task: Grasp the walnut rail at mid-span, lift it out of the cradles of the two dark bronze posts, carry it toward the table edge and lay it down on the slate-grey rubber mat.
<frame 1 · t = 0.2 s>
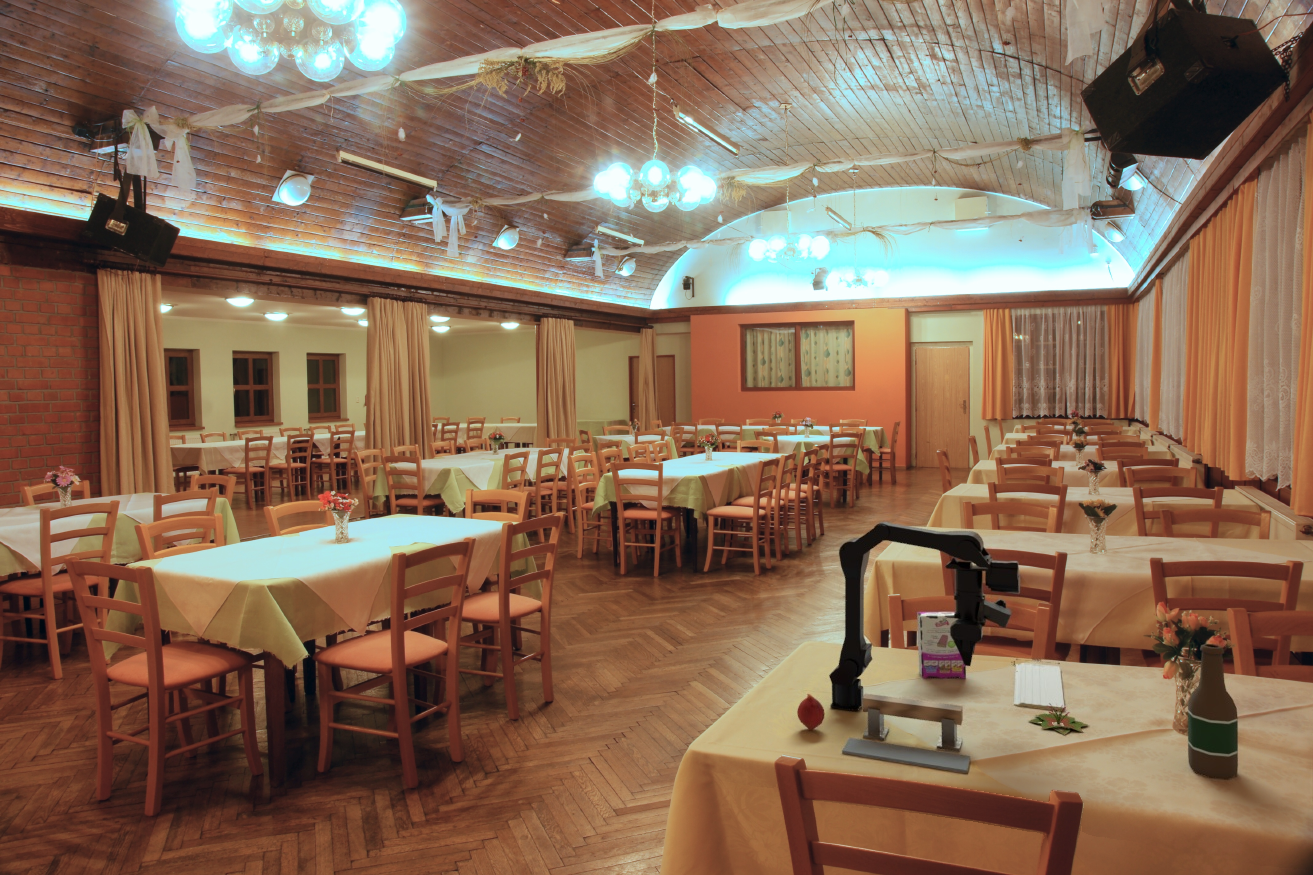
hand: (969, 659, 177), 14 cm above the table, tool pointing down, fingers open, 9 cm apart
post left: (876, 733, 174), on the table
candy bar box: (941, 676, 210), on the table
beer bottle: (1212, 771, 152), on the table
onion: (811, 730, 177), on the table
rail: (911, 715, 170), point 5 cm above the table, touching post left, post right
post right: (949, 744, 167), on the table
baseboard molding: (1035, 689, 200), on the table
mat: (905, 755, 162), on the table
lily flower: (1058, 726, 176), on the table
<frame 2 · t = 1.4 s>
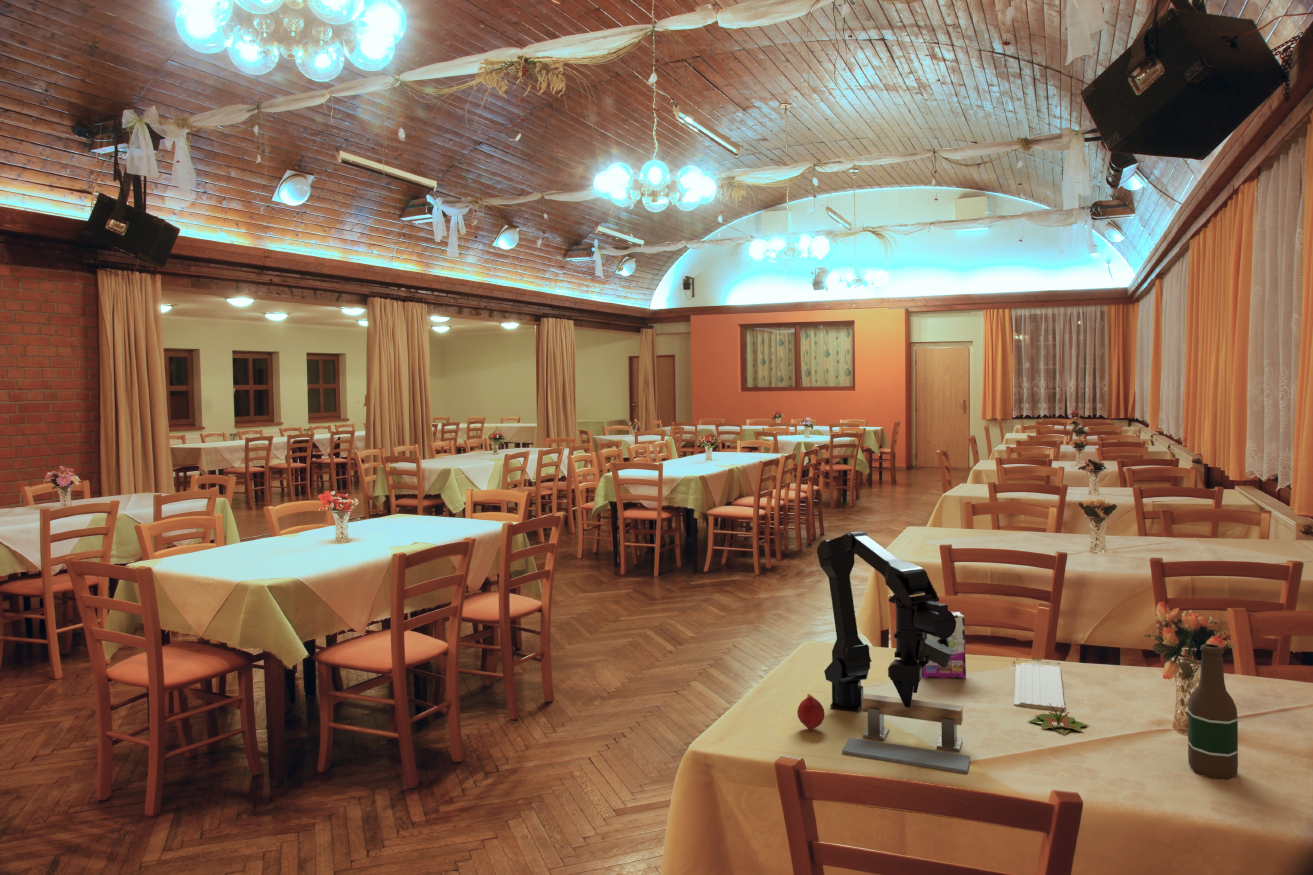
hand: (911, 699, 170), 8 cm above the table, tool pointing down, fingers open, 9 cm apart
nothing on the table moved.
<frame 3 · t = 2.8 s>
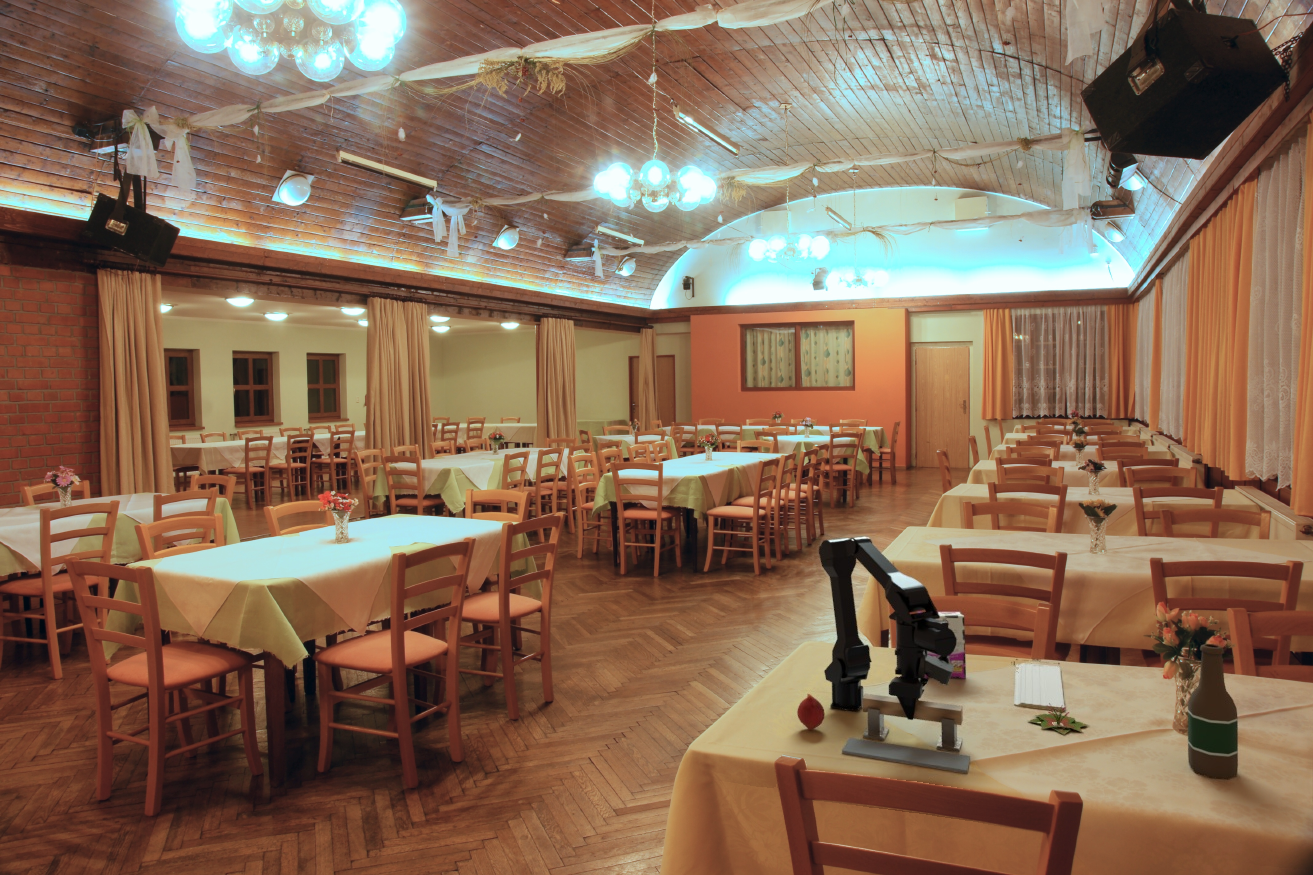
hand: (911, 716, 170), 5 cm above the table, tool pointing down, fingers closed on rail, 3 cm apart
rail: (911, 715, 170), point 5 cm above the table, touching gripper, post left, post right
everything else where it was.
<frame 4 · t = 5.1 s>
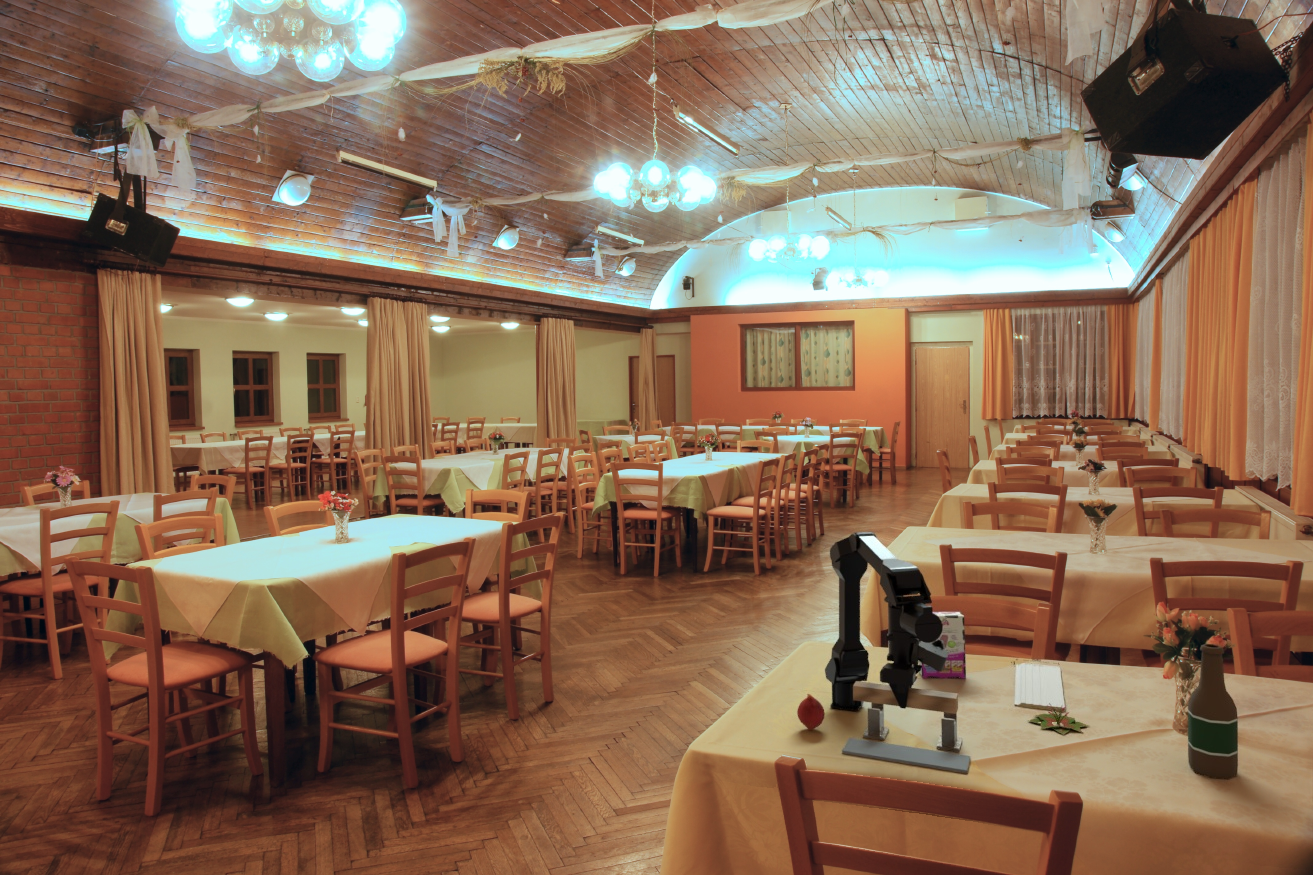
hand: (904, 705, 162), 10 cm above the table, tool pointing down, fingers closed on rail, 3 cm apart
rail: (904, 704, 162), point 11 cm above the table, touching gripper
everything else where it was.
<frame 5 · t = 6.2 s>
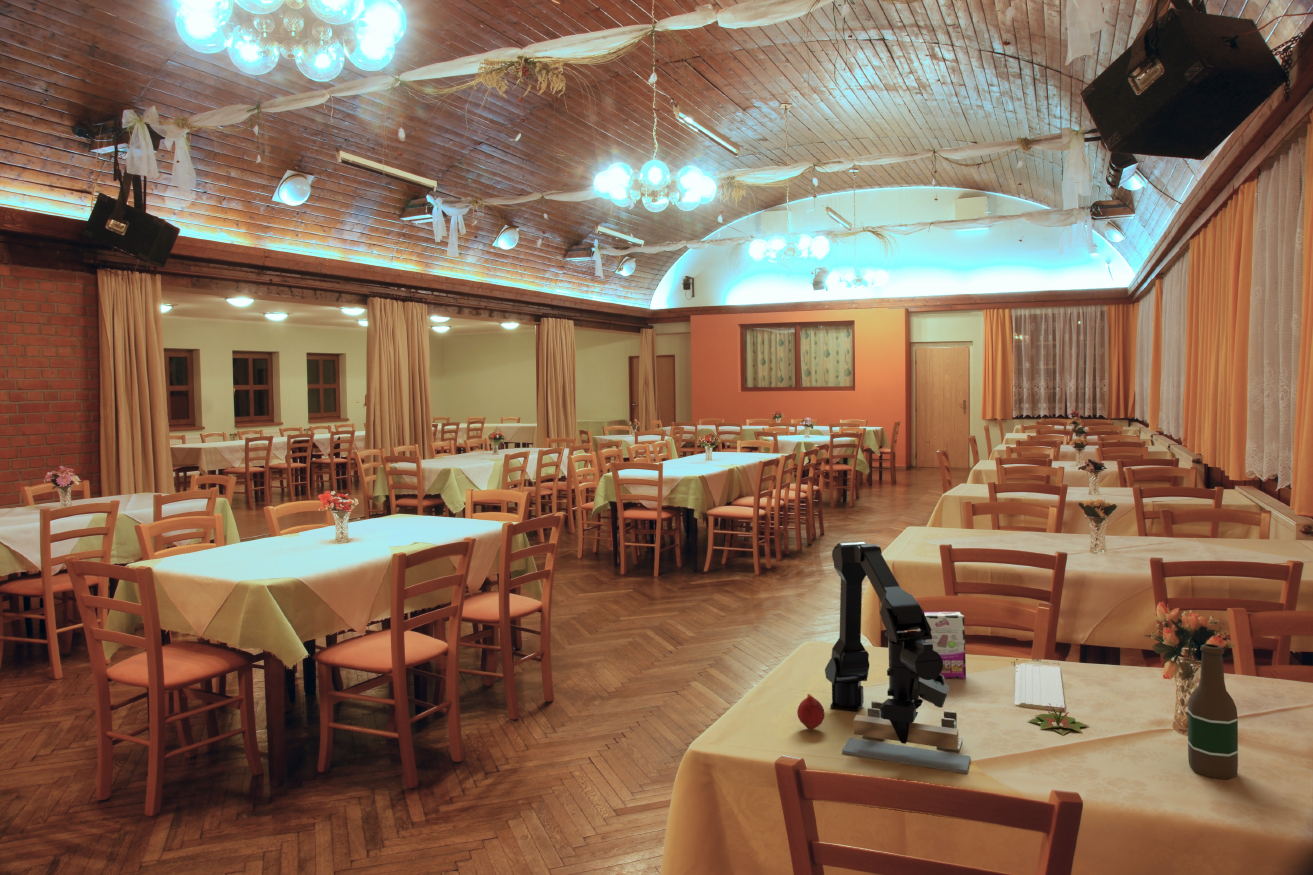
hand: (904, 739, 162), 3 cm above the table, tool pointing down, fingers closed on rail, 3 cm apart
rail: (905, 738, 162), point 3 cm above the table, touching gripper
everything else where it was.
when the fingers open (2 cm above the table, at t = 7.2 s): rail drops 1 cm, resting on mat.
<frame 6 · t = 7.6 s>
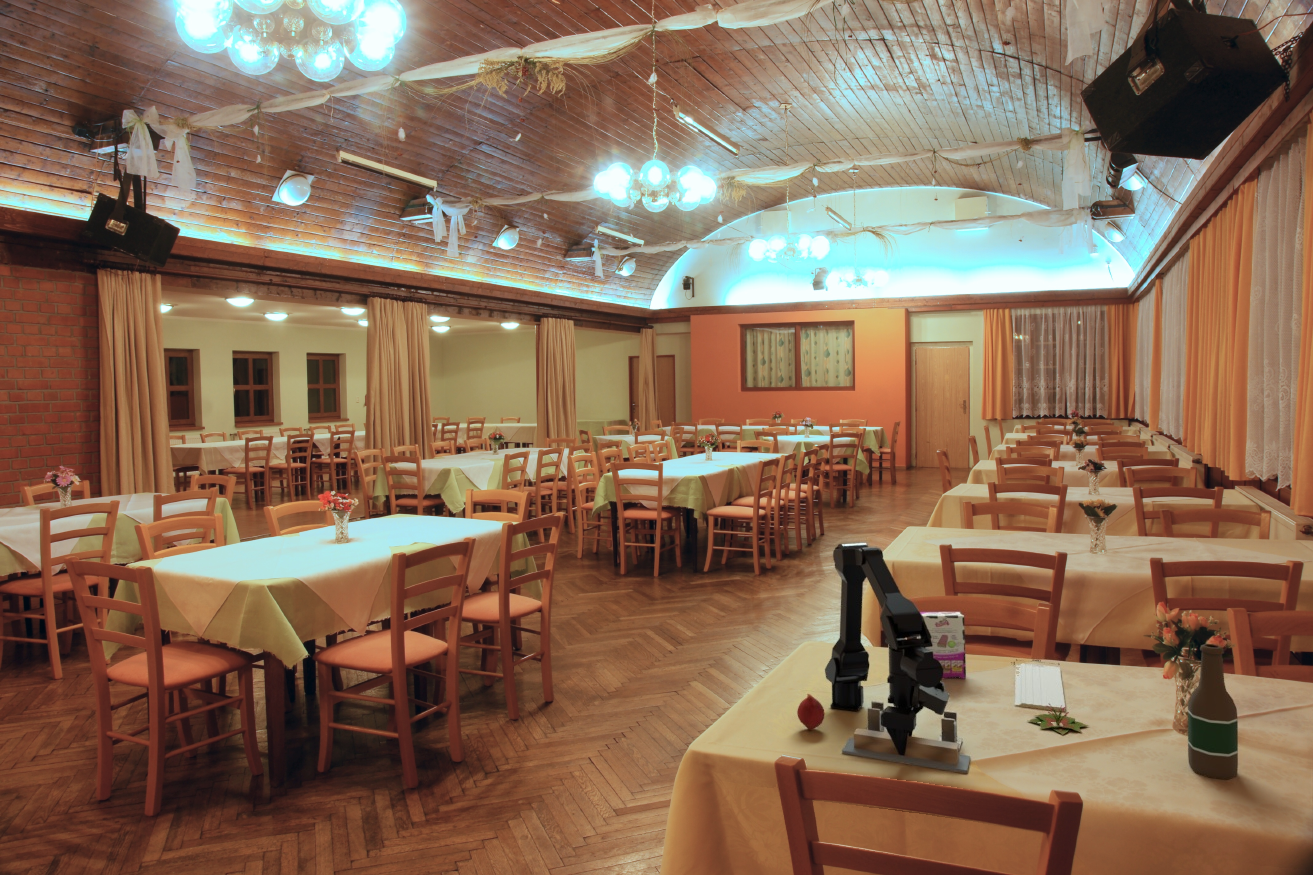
hand: (905, 747, 162), 2 cm above the table, tool pointing down, fingers open, 8 cm apart
rail: (905, 752, 163), point 1 cm above the table, touching mat
everything else where it was.
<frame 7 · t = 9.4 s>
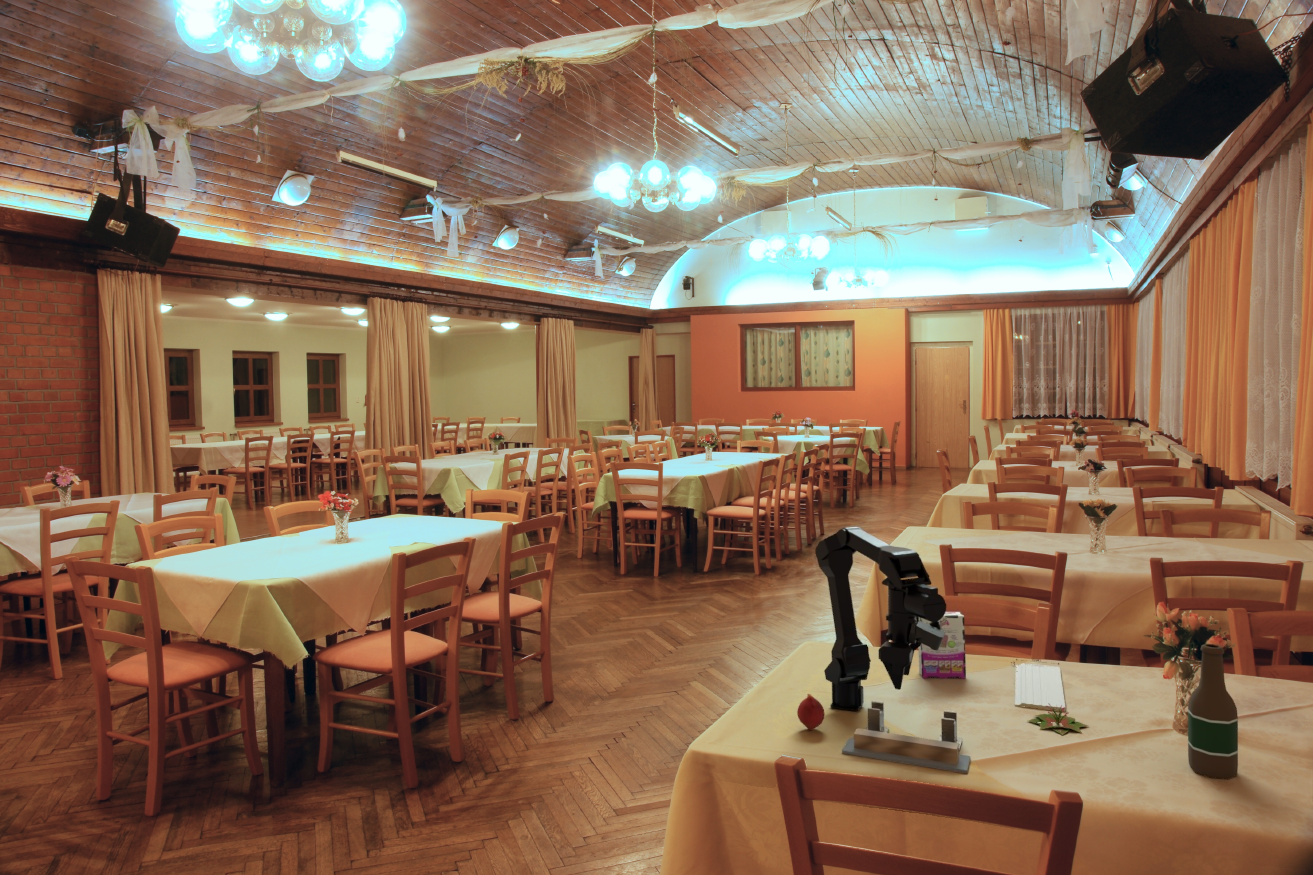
hand: (902, 681, 171), 12 cm above the table, tool pointing down, fingers open, 9 cm apart
nothing on the table moved.
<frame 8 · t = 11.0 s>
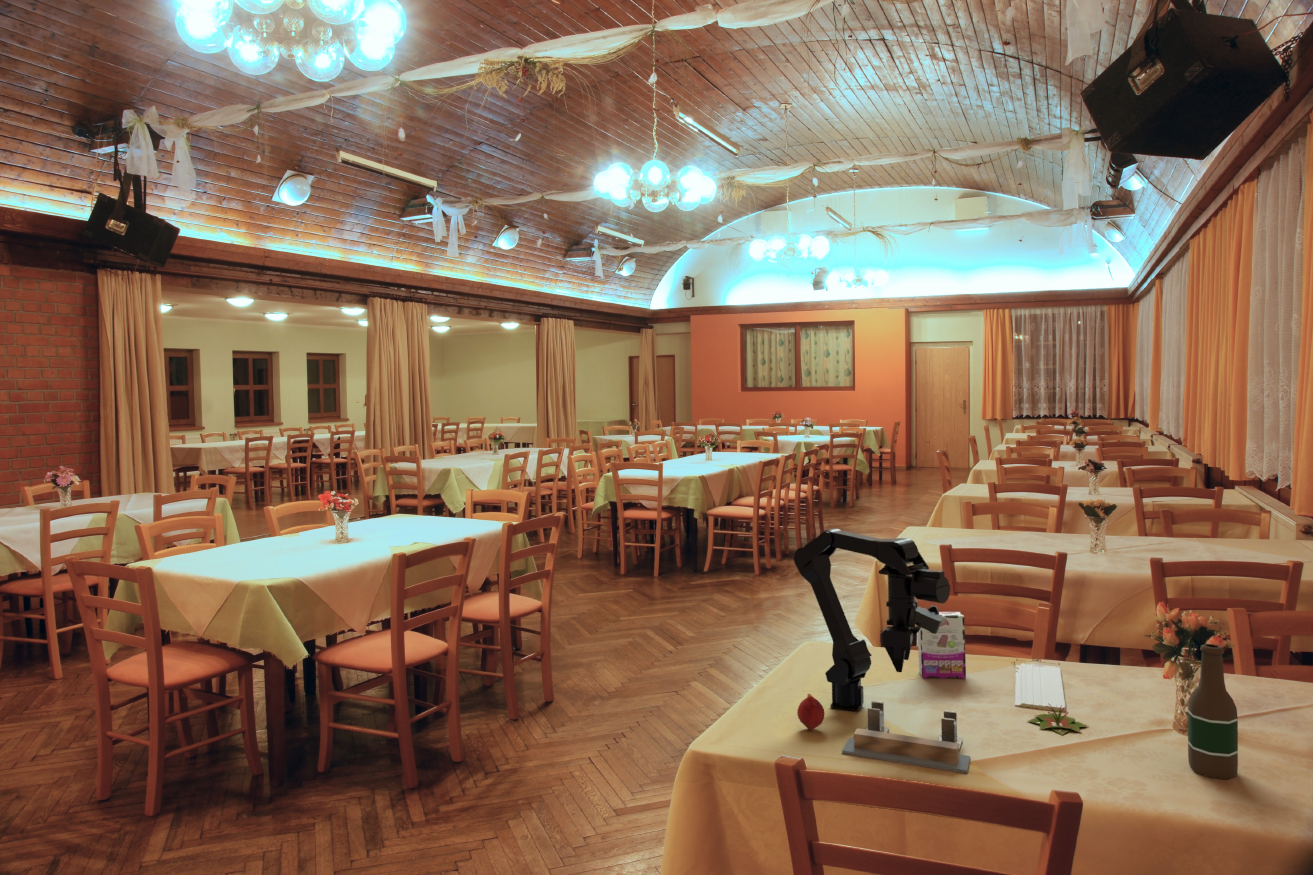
hand: (902, 665, 179), 13 cm above the table, tool pointing down, fingers open, 9 cm apart
nothing on the table moved.
at the end: rail inside the target area on the mat (0.1 cm from its centre), point 0.6 cm above the mat's base; rail point 0.6 cm above the table; the gripper is holding nothing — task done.
